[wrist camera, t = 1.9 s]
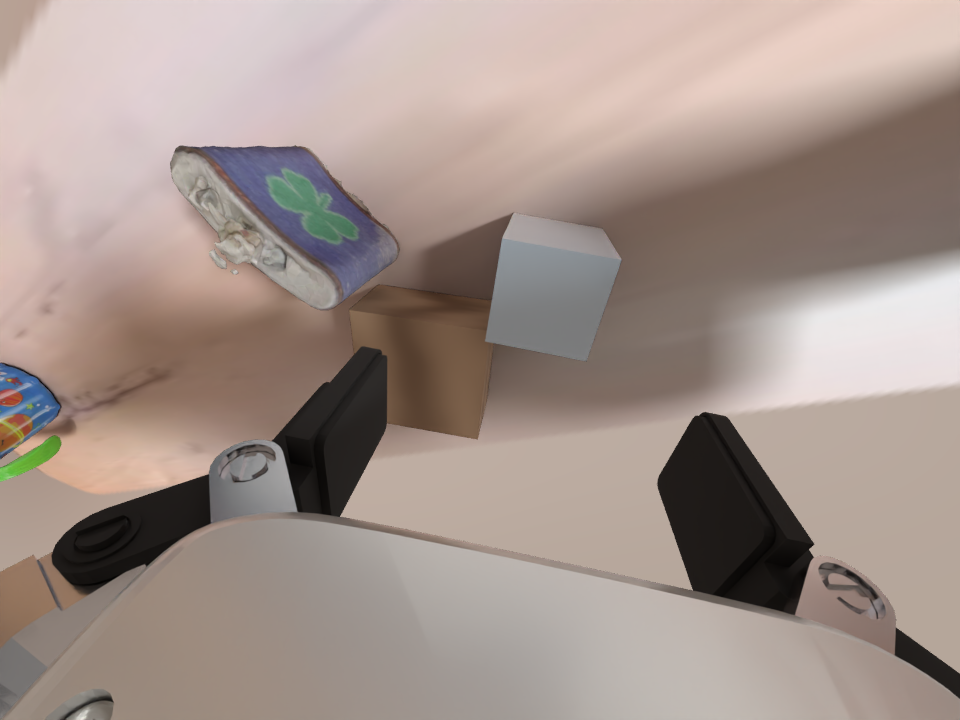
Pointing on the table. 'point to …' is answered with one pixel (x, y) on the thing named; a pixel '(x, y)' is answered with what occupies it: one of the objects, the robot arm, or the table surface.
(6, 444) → the snack cup
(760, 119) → the table surface
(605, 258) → the pale blue cube
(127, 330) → the table surface
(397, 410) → the block
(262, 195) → the clover trinket box
